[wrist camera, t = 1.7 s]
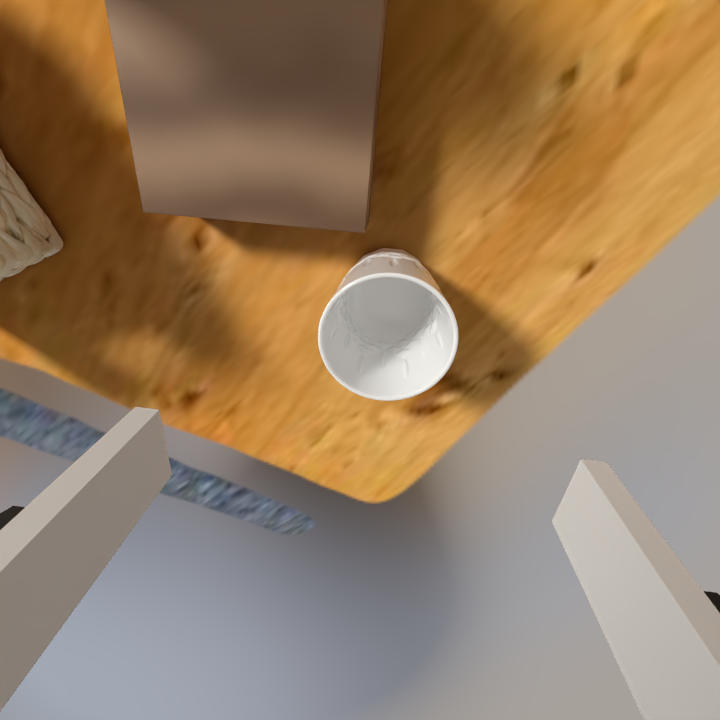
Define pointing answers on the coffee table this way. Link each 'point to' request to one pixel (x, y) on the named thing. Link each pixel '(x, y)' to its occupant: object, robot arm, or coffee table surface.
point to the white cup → (388, 328)
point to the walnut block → (252, 107)
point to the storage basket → (22, 225)
